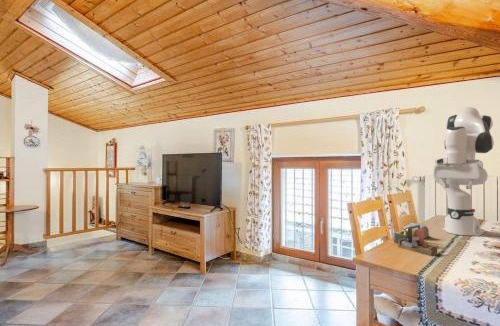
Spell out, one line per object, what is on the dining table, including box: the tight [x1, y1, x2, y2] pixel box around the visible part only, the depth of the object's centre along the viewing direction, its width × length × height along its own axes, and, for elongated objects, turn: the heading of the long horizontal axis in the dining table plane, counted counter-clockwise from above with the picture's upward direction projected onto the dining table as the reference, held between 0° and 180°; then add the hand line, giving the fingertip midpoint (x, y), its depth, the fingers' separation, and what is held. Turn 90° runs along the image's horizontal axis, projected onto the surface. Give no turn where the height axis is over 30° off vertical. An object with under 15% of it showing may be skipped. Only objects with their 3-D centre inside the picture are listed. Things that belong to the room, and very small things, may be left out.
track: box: [397, 238, 438, 257], centre depth 133 cm, size 5×16×4 cm, turn 29°
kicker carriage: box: [402, 227, 425, 248], centre depth 139 cm, size 13×5×9 cm, turn 118°
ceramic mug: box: [407, 222, 430, 240], centre depth 156 cm, size 11×8×8 cm
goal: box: [393, 224, 421, 244], centre depth 147 cm, size 12×7×9 cm, turn 119°
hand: (457, 188), depth 135 cm, fingers open, 8 cm apart
